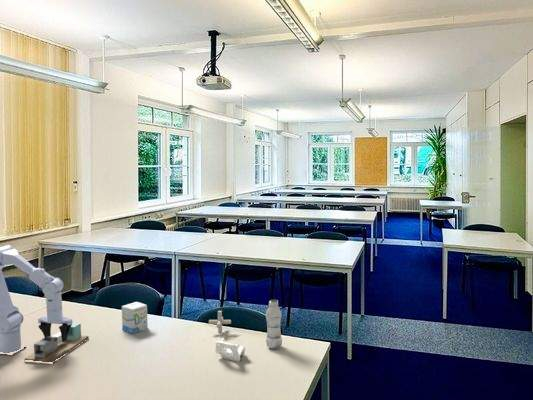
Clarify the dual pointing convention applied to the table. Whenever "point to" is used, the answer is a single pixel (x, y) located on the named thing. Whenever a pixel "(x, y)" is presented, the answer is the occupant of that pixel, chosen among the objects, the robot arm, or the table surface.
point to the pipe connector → (219, 322)
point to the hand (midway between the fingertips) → (56, 340)
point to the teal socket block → (74, 331)
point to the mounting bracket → (229, 350)
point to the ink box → (134, 317)
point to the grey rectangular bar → (59, 339)
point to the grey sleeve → (45, 347)
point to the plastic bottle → (273, 325)
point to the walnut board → (60, 349)
